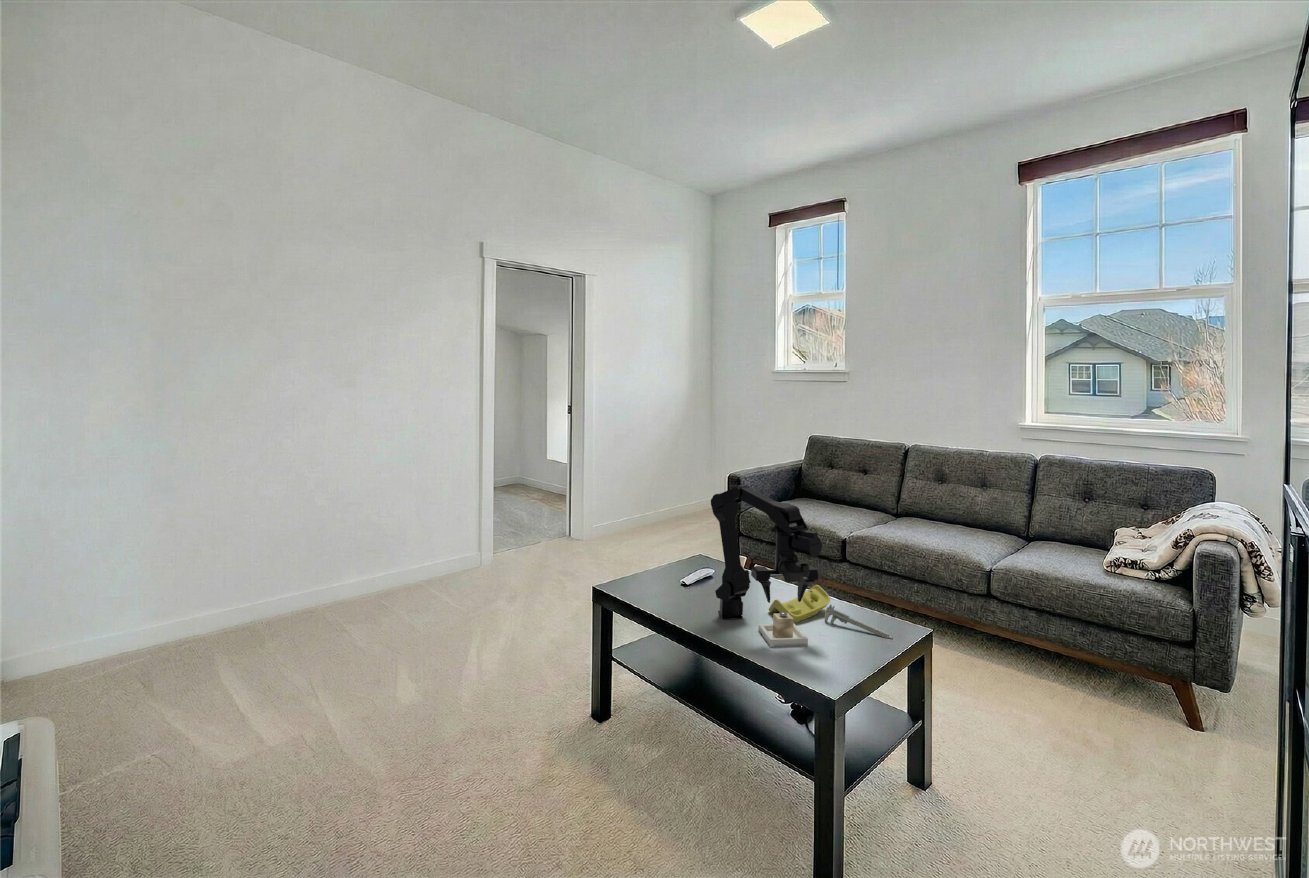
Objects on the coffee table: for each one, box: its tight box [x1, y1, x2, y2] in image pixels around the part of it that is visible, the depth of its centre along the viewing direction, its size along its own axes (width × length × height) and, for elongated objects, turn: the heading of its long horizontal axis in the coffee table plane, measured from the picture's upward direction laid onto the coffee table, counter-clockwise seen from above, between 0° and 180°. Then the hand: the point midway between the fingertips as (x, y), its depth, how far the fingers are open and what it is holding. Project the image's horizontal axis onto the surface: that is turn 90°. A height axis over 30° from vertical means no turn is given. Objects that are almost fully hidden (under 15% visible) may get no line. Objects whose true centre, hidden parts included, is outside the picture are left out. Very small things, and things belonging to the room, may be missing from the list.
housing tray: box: [758, 623, 809, 648], centre depth 174 cm, size 11×11×2 cm
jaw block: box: [772, 612, 794, 638], centre depth 174 cm, size 4×4×7 cm
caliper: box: [824, 603, 894, 639], centre depth 181 cm, size 20×1×6 cm, turn 54°
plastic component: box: [768, 584, 831, 624], centre depth 195 cm, size 20×7×10 cm
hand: (784, 601), depth 173 cm, fingers open, 9 cm apart
